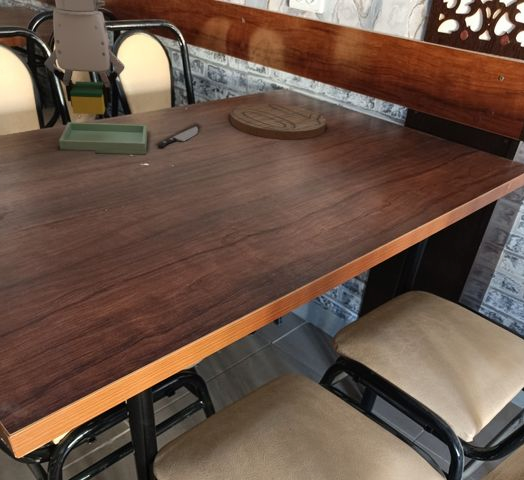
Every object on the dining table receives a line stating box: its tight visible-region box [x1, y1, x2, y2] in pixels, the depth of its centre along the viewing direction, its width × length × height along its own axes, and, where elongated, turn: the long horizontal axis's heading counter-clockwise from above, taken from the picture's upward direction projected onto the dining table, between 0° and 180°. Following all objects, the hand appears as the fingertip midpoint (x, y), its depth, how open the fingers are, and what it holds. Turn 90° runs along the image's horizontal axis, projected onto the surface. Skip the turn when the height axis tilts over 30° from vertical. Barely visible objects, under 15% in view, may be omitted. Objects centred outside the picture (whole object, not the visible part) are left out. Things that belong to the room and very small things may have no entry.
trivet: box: [230, 102, 327, 141], centre depth 132 cm, size 25×25×2 cm
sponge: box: [70, 80, 107, 115], centre depth 106 cm, size 6×9×4 cm, turn 8°
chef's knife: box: [157, 126, 199, 149], centre depth 118 cm, size 19×1×3 cm
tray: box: [58, 121, 148, 155], centre depth 111 cm, size 17×13×2 cm
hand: (90, 104), depth 107 cm, fingers closed on sponge, 6 cm apart
